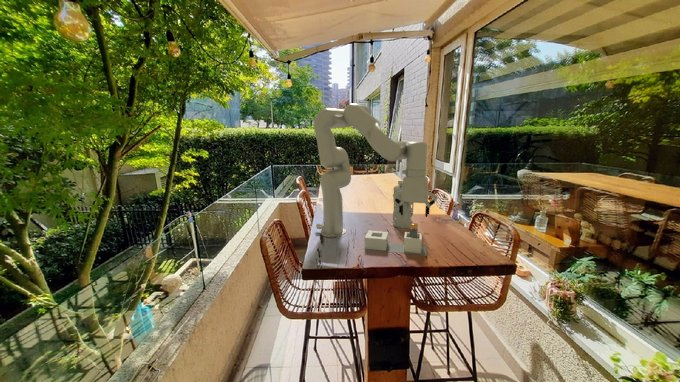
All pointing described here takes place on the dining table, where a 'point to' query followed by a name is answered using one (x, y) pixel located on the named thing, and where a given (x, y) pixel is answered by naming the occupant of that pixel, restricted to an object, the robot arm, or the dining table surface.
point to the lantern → (404, 219)
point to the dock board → (380, 243)
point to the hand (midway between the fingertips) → (413, 215)
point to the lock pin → (413, 230)
